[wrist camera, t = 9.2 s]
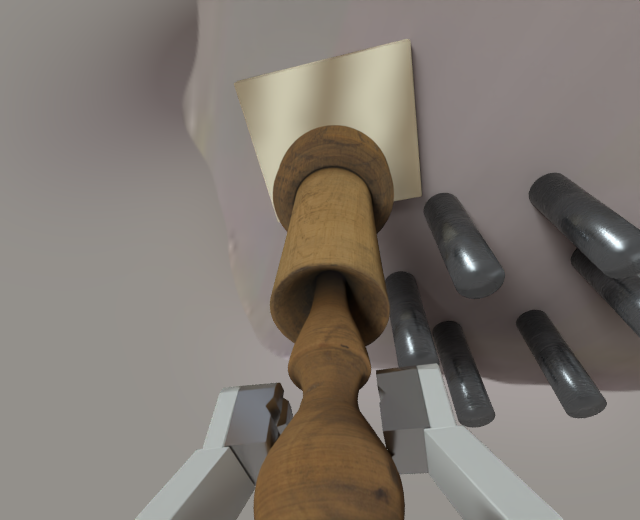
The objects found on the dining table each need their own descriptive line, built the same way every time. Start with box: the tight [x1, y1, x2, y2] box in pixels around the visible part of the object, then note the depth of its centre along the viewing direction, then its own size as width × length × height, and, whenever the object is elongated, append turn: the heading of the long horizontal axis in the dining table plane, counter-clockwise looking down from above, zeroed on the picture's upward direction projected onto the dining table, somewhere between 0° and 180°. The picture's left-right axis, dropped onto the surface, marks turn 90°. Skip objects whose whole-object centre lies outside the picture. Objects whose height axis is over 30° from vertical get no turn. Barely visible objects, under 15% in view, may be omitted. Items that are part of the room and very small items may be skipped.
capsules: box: [385, 173, 640, 427], centre depth 30 cm, size 20×18×10 cm
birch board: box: [234, 39, 422, 222], centre depth 28 cm, size 12×11×1 cm
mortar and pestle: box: [254, 125, 405, 520], centre depth 14 cm, size 7×6×18 cm
